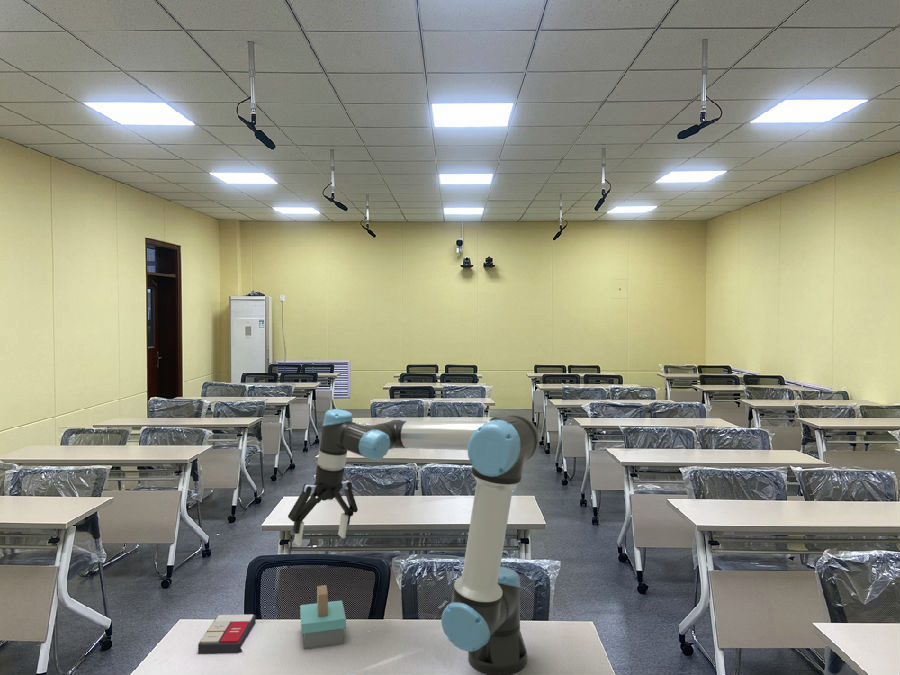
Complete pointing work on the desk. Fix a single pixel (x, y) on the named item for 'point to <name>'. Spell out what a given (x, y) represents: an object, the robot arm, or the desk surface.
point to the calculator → (226, 634)
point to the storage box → (323, 638)
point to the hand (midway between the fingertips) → (320, 540)
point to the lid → (322, 614)
